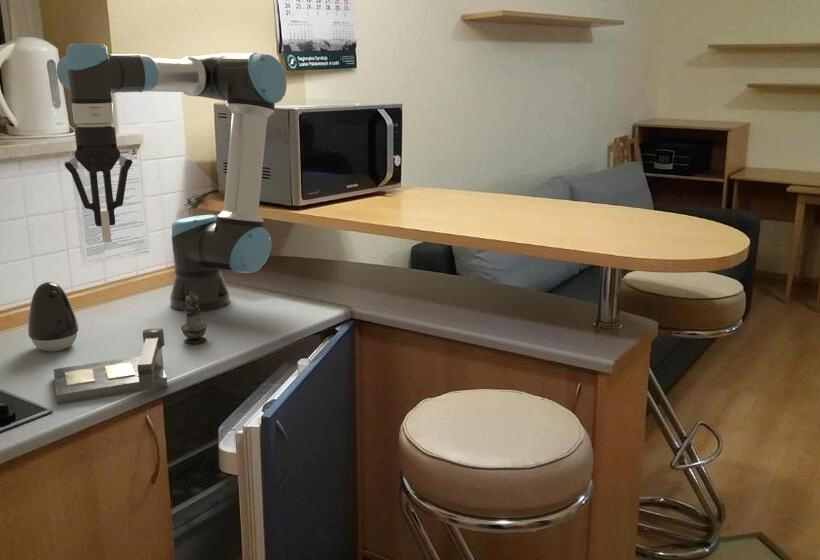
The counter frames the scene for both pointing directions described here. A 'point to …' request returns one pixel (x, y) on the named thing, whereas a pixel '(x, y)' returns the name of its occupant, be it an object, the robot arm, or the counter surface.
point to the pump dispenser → (51, 319)
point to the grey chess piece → (193, 322)
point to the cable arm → (149, 356)
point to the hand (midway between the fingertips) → (107, 241)
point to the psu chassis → (104, 379)
